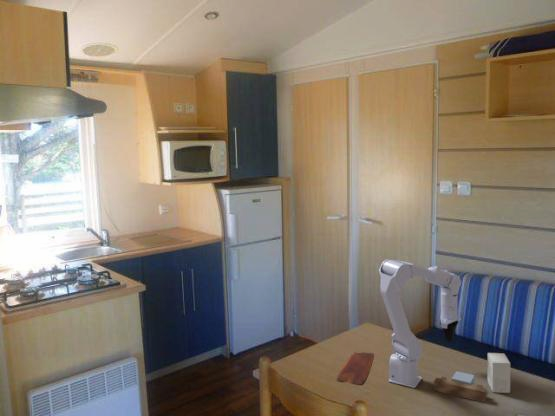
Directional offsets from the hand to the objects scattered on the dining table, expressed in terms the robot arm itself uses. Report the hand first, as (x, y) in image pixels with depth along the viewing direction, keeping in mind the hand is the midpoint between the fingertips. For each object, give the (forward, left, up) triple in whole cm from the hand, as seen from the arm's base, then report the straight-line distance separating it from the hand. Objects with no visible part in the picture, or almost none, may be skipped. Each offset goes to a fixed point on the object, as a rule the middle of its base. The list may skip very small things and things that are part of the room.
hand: (449, 340), depth 180 cm
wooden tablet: (-30, -15, -11) cm, 35 cm away
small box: (+18, -7, -11) cm, 22 cm away
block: (+8, -14, -11) cm, 19 cm away
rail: (+8, -18, -10) cm, 22 cm away
